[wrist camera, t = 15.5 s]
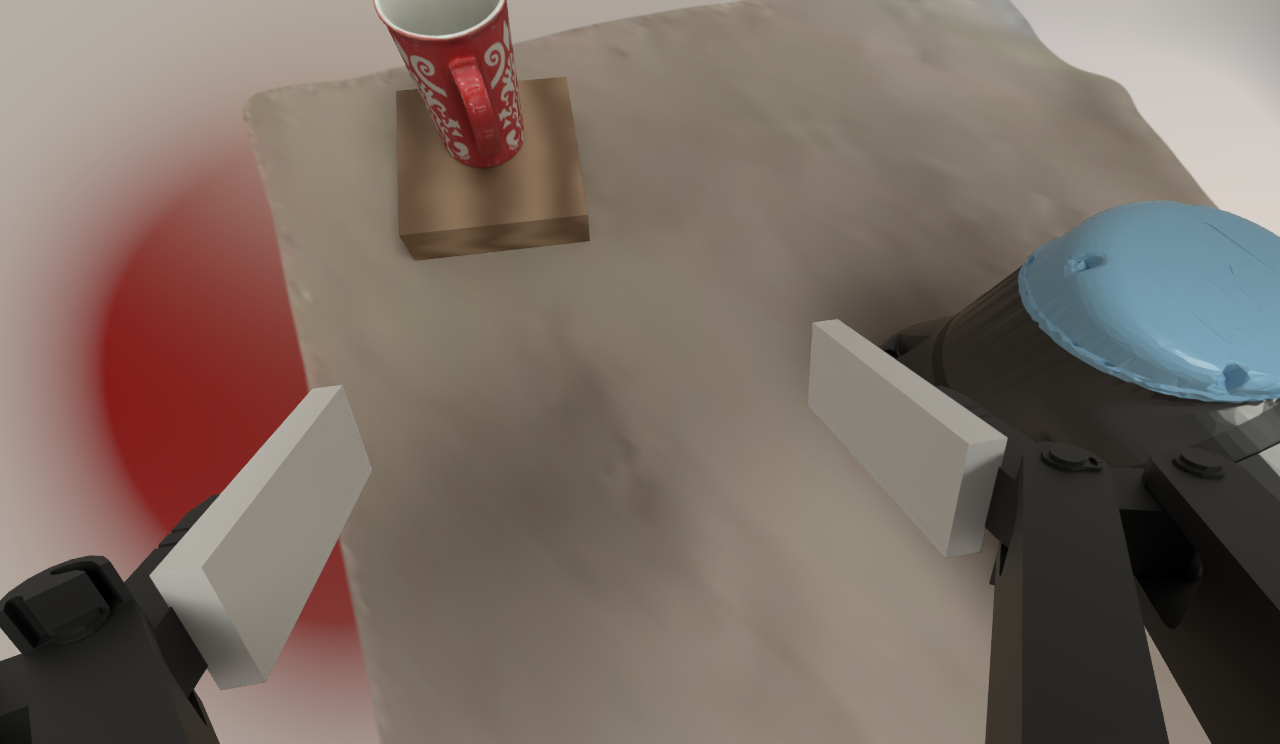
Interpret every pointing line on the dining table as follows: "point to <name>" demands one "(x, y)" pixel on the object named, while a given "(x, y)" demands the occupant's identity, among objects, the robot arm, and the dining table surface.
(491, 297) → the dining table surface
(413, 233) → the walnut stand
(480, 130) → the mug
